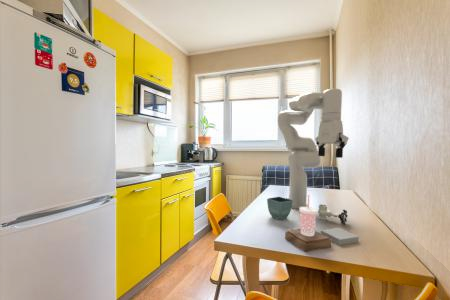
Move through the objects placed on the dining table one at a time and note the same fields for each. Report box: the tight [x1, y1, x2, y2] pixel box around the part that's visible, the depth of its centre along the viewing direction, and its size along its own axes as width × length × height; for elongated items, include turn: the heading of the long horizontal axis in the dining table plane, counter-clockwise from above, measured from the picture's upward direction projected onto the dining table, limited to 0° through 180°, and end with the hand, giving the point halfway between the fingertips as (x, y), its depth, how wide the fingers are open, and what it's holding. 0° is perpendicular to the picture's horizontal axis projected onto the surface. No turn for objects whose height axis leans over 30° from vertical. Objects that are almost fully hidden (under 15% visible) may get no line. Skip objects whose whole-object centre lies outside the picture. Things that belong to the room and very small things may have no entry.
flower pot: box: [266, 196, 293, 221], centre depth 105 cm, size 9×9×9 cm
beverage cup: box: [298, 194, 318, 236], centre depth 79 cm, size 6×6×14 cm
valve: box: [317, 204, 349, 225], centre depth 103 cm, size 7×7×12 cm
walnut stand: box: [284, 228, 332, 253], centre depth 79 cm, size 11×11×3 cm
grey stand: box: [320, 227, 360, 246], centre depth 83 cm, size 9×9×2 cm
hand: (329, 156), depth 97 cm, fingers open, 9 cm apart
